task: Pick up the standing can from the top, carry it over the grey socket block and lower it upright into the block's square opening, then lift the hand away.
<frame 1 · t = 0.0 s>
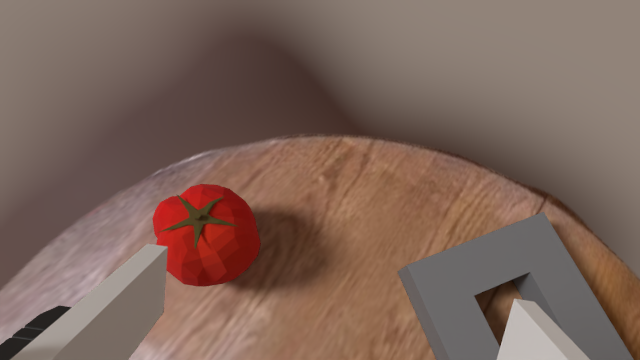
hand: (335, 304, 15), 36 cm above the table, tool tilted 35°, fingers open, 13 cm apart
tomato: (217, 248, 51), on the table
socket block: (501, 318, 50), on the table
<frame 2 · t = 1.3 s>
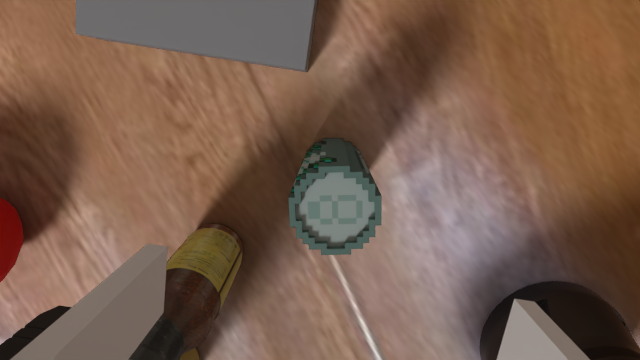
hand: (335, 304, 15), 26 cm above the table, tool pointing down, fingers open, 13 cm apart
can: (333, 167, 41), on the table
sauce bottle: (218, 249, 43), on the table
tomato: (0, 224, 43), on the table
paper tube: (173, 353, 46), on the table
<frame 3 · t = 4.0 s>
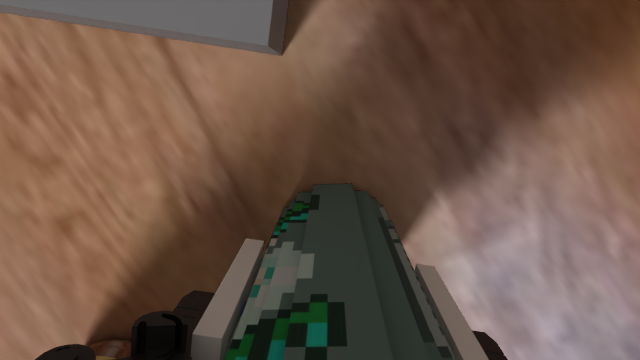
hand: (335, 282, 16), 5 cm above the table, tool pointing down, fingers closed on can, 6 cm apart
can: (333, 237, 22), on the table, touching gripper
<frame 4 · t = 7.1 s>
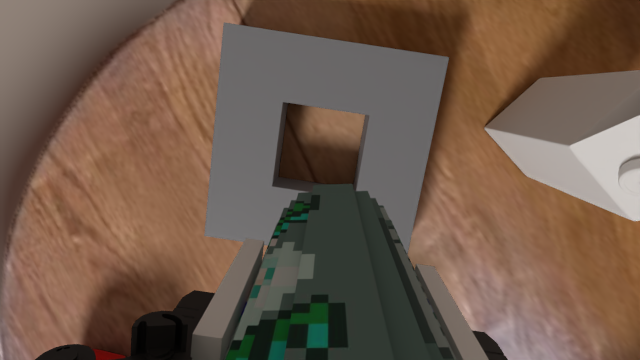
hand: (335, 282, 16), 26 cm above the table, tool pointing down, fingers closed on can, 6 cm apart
can: (334, 237, 21), point 21 cm above the table, touching gripper
socket block: (321, 145, 41), on the table
milk carton: (531, 128, 40), on the table
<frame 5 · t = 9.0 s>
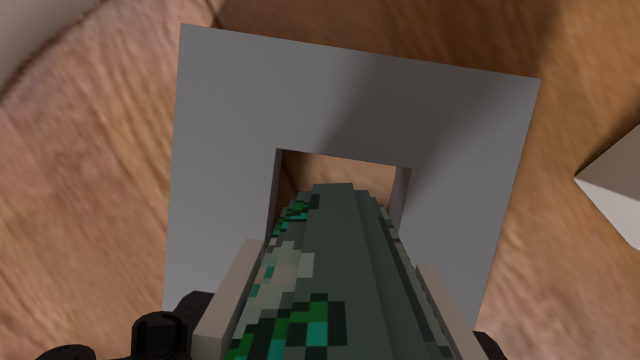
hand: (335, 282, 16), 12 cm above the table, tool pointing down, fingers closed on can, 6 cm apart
can: (334, 236, 21), point 7 cm above the table, touching gripper
socket block: (332, 201, 28), on the table
when the fingers open (6 cm above the table, at t = 10.6 s): can drops 1 cm, resting in socket block.
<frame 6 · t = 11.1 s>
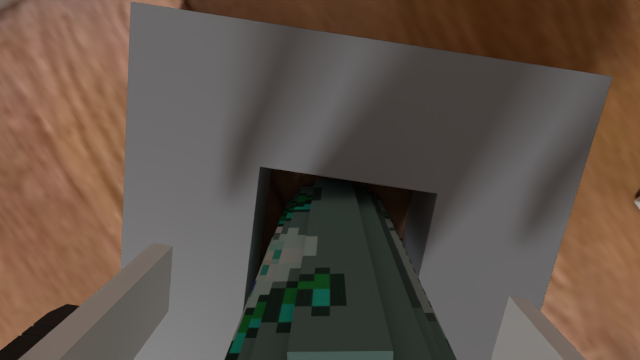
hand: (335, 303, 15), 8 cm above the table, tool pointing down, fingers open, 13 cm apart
can: (334, 228, 23), resting in socket block
socket block: (333, 229, 23), on the table
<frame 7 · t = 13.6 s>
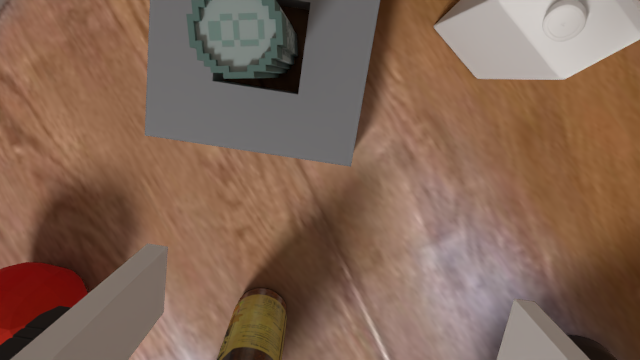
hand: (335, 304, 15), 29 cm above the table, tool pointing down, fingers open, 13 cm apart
can: (267, 46, 40), resting in socket block
sauce bottle: (263, 308, 48), on the table
tomato: (63, 287, 47), on the table
socket block: (267, 46, 40), on the table
milk carton: (481, 27, 39), on the table
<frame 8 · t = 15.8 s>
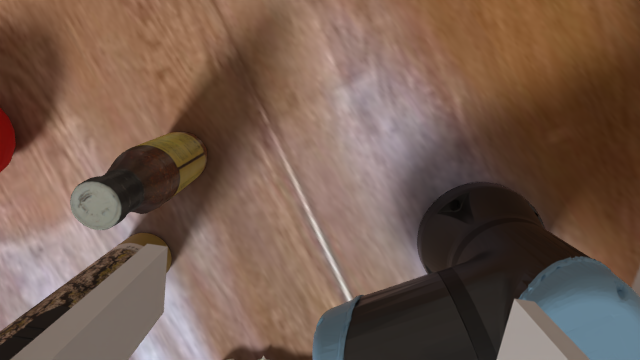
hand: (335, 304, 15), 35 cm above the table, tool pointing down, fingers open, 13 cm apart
sauce bottle: (186, 156, 49), on the table
paper tube: (148, 254, 52), on the table
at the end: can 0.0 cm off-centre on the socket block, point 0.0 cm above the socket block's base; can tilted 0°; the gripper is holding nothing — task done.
